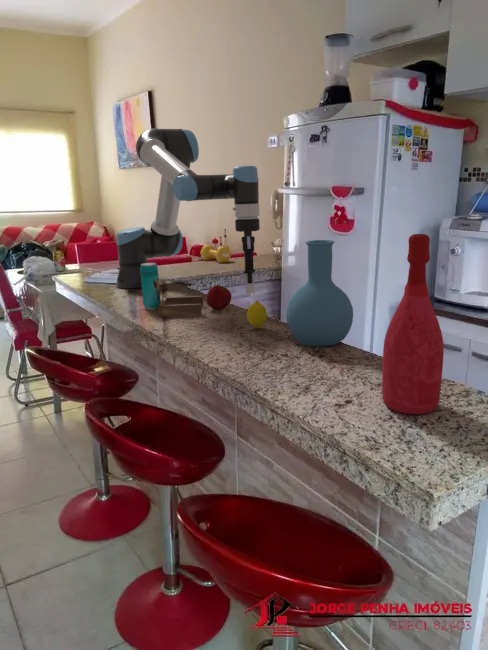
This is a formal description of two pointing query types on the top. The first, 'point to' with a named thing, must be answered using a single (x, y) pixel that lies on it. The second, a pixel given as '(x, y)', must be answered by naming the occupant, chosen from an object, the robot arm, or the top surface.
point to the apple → (218, 297)
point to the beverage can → (150, 285)
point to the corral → (180, 306)
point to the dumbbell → (215, 253)
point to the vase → (319, 302)
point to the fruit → (257, 314)
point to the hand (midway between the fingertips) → (250, 292)
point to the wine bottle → (413, 342)
